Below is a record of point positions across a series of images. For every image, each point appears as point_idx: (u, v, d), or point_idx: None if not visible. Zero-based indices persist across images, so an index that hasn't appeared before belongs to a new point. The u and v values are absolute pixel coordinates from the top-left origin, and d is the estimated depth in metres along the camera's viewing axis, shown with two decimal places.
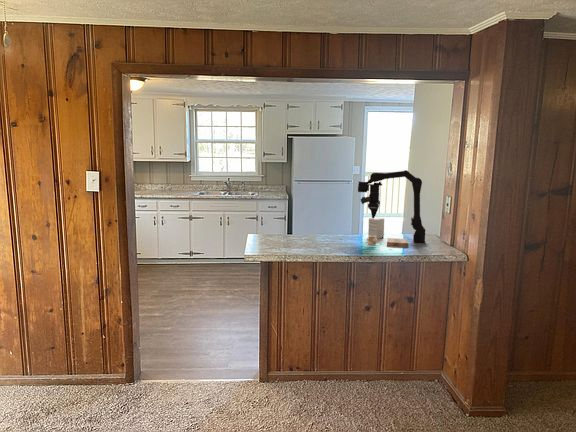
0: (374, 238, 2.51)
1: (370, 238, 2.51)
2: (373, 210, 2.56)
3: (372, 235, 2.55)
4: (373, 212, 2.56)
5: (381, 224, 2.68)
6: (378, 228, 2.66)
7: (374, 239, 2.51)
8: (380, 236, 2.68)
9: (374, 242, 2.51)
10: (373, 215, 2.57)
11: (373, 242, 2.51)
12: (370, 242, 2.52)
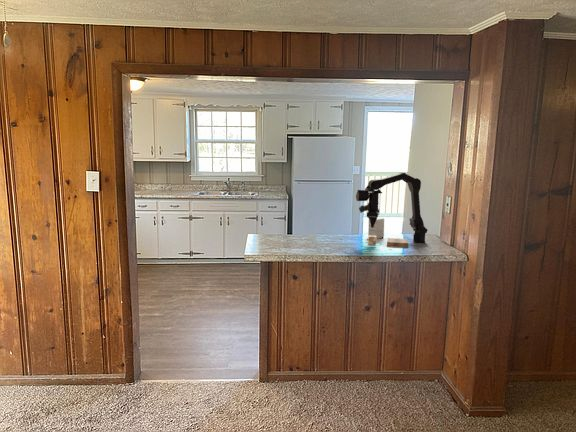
0: (374, 238, 2.51)
1: (370, 238, 2.51)
2: (372, 219, 2.46)
3: (372, 235, 2.55)
4: (372, 221, 2.46)
5: (381, 224, 2.68)
6: (378, 228, 2.66)
7: (374, 239, 2.51)
8: (380, 236, 2.68)
9: (374, 242, 2.51)
10: (372, 224, 2.47)
11: (373, 242, 2.51)
12: (370, 242, 2.52)
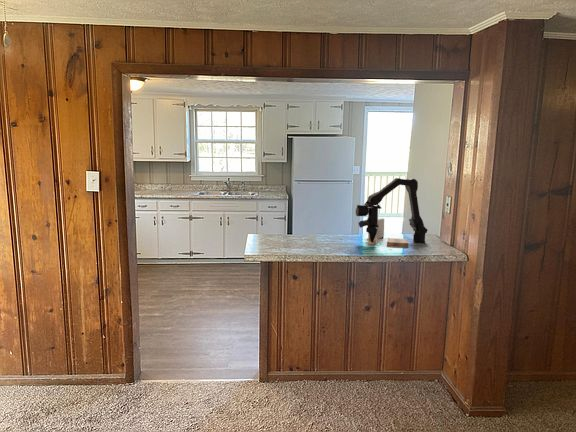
0: (374, 238, 2.51)
1: None
2: (372, 234, 2.49)
3: None
4: (372, 236, 2.49)
5: (381, 224, 2.68)
6: (378, 228, 2.66)
7: (374, 239, 2.51)
8: (380, 236, 2.68)
9: (374, 242, 2.51)
10: (372, 239, 2.50)
11: (373, 242, 2.51)
12: (370, 241, 2.51)
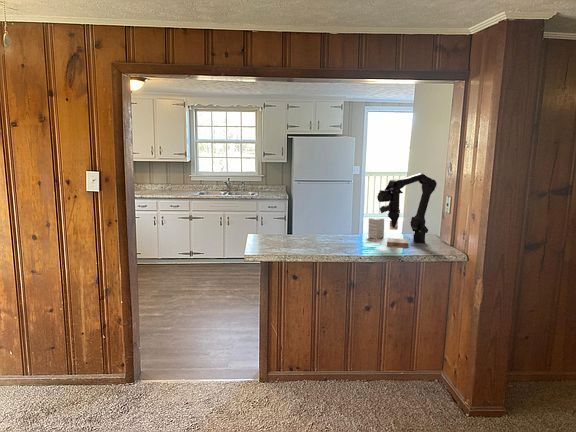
0: (396, 223, 2.46)
1: None
2: (394, 219, 2.45)
3: None
4: (394, 221, 2.45)
5: (381, 224, 2.68)
6: (378, 228, 2.66)
7: (396, 224, 2.46)
8: (380, 236, 2.68)
9: (396, 227, 2.46)
10: (394, 224, 2.46)
11: (395, 227, 2.47)
12: (392, 227, 2.47)
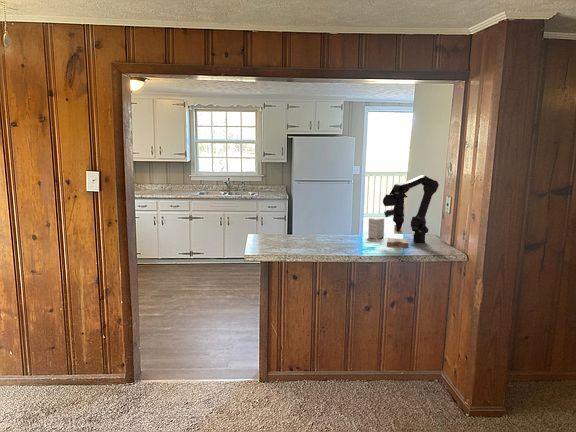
0: None
1: (396, 228, 2.46)
2: (398, 223, 2.44)
3: None
4: (398, 225, 2.44)
5: (381, 224, 2.68)
6: (378, 228, 2.66)
7: (400, 229, 2.46)
8: (380, 236, 2.68)
9: (400, 232, 2.46)
10: (398, 229, 2.45)
11: (399, 232, 2.46)
12: (396, 231, 2.46)
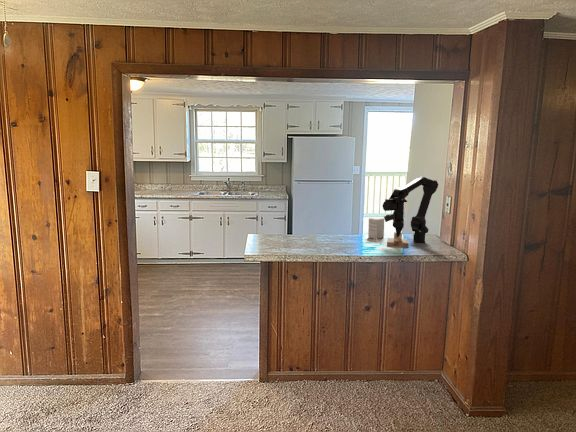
0: (400, 235, 2.46)
1: (396, 235, 2.47)
2: (398, 228, 2.43)
3: None
4: (398, 230, 2.44)
5: (381, 224, 2.68)
6: (378, 228, 2.66)
7: (400, 236, 2.46)
8: (380, 236, 2.68)
9: (400, 239, 2.47)
10: (398, 234, 2.44)
11: (399, 239, 2.47)
12: (396, 239, 2.47)
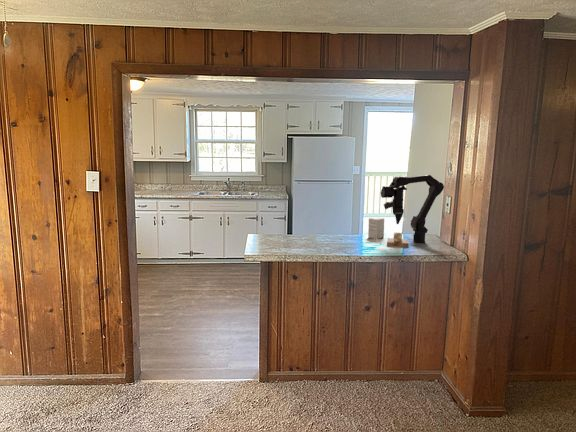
0: (400, 235, 2.46)
1: (396, 235, 2.47)
2: (398, 216, 2.47)
3: None
4: (398, 218, 2.47)
5: (381, 224, 2.68)
6: (378, 228, 2.66)
7: (400, 236, 2.46)
8: (380, 236, 2.68)
9: (400, 239, 2.47)
10: (398, 221, 2.48)
11: (399, 239, 2.47)
12: (396, 239, 2.47)
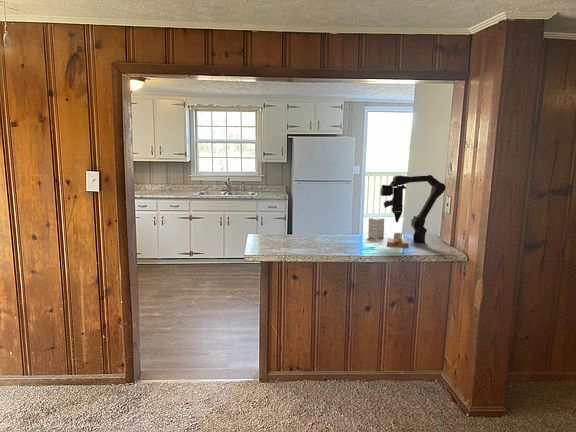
0: (400, 235, 2.46)
1: (396, 235, 2.47)
2: (397, 214, 2.49)
3: None
4: (397, 216, 2.49)
5: (381, 224, 2.68)
6: (378, 228, 2.66)
7: (400, 236, 2.46)
8: (380, 236, 2.68)
9: (400, 239, 2.46)
10: (397, 219, 2.50)
11: (399, 239, 2.47)
12: (396, 239, 2.47)
